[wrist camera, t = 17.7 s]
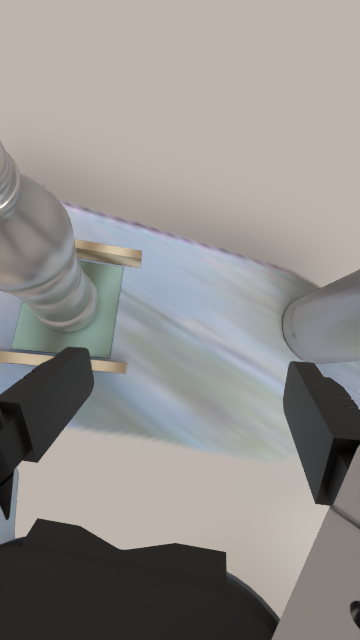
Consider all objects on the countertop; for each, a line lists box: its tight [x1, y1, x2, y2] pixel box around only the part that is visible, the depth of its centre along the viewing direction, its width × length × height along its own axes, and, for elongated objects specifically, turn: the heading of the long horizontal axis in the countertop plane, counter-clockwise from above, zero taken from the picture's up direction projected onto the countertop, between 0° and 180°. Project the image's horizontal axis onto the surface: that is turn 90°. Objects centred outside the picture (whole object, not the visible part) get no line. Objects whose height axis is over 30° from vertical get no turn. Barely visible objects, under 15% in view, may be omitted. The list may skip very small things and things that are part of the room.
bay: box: [0, 239, 142, 374], centre depth 25 cm, size 24×14×4 cm, turn 85°
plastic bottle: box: [0, 141, 99, 332], centre depth 18 cm, size 6×7×20 cm
